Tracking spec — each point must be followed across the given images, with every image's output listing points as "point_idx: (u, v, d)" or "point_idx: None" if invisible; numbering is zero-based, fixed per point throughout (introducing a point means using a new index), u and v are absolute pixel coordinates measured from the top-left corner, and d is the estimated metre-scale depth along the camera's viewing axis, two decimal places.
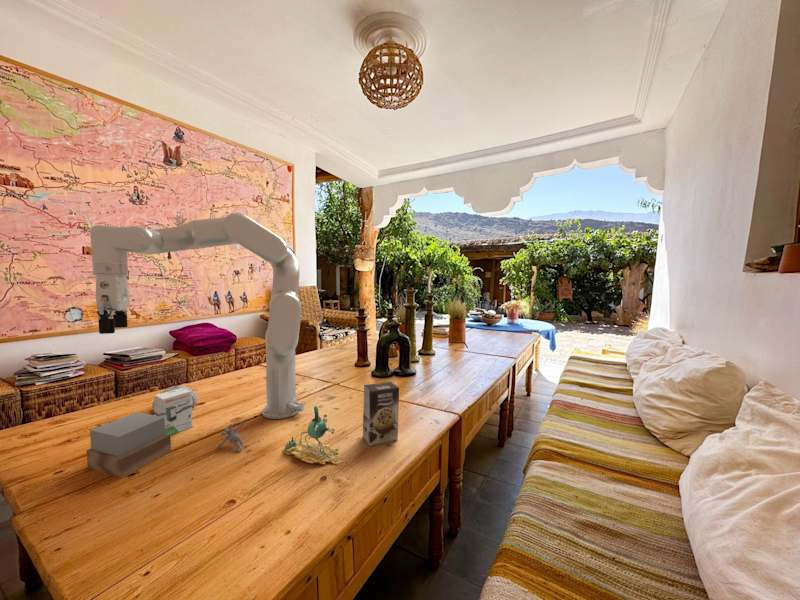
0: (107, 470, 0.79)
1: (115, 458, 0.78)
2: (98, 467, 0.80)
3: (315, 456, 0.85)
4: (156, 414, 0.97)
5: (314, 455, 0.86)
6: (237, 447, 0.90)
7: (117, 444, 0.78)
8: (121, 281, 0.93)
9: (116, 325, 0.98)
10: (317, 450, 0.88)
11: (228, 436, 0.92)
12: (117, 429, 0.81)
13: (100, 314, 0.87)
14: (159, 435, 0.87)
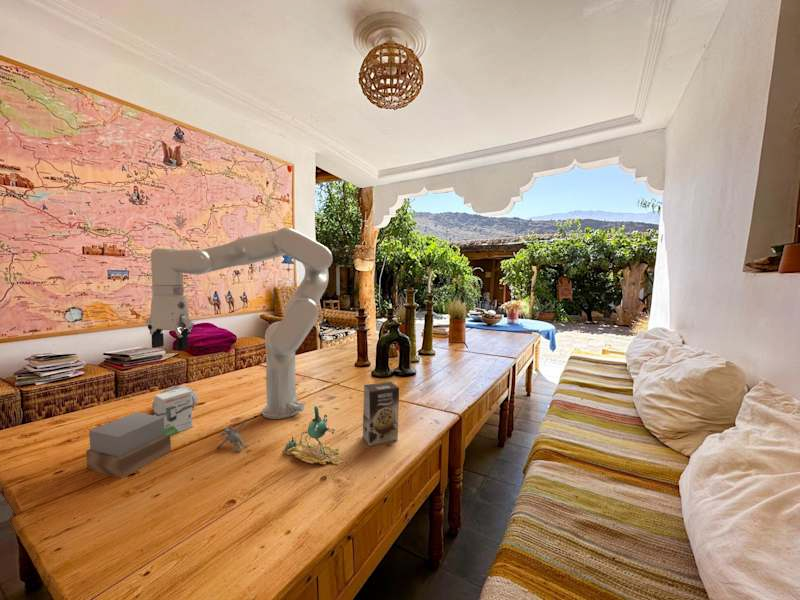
0: (107, 470, 0.79)
1: (115, 458, 0.78)
2: (98, 467, 0.80)
3: (315, 456, 0.85)
4: (156, 414, 0.97)
5: (314, 455, 0.86)
6: (237, 447, 0.90)
7: (117, 444, 0.78)
8: None
9: (156, 345, 0.98)
10: (317, 450, 0.88)
11: (228, 436, 0.92)
12: (116, 429, 0.81)
13: (187, 332, 0.95)
14: (158, 435, 0.87)
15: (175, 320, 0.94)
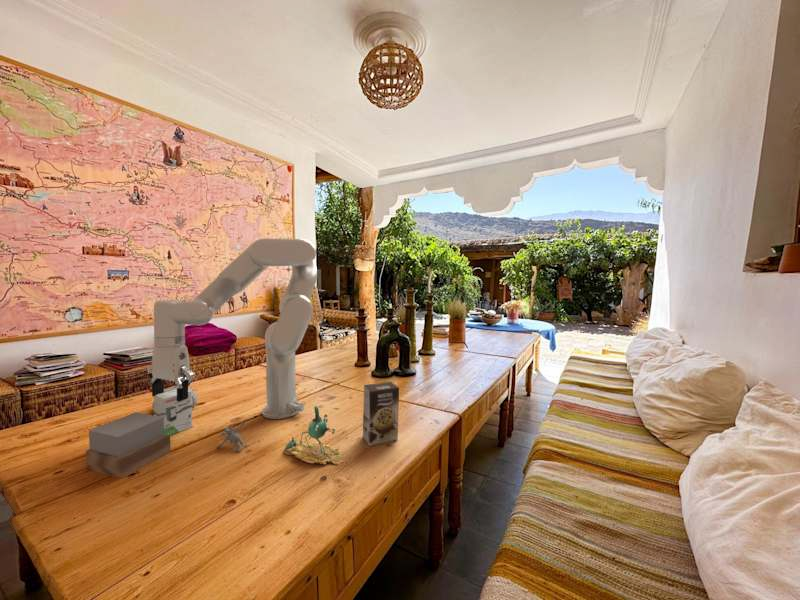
0: (107, 470, 0.79)
1: (115, 458, 0.78)
2: (97, 467, 0.80)
3: (316, 456, 0.85)
4: (156, 414, 0.97)
5: (315, 455, 0.86)
6: (237, 447, 0.90)
7: (117, 444, 0.78)
8: None
9: (156, 394, 1.00)
10: (318, 450, 0.88)
11: (228, 436, 0.92)
12: (116, 429, 0.81)
13: (187, 383, 0.96)
14: (158, 435, 0.87)
15: (176, 371, 0.95)
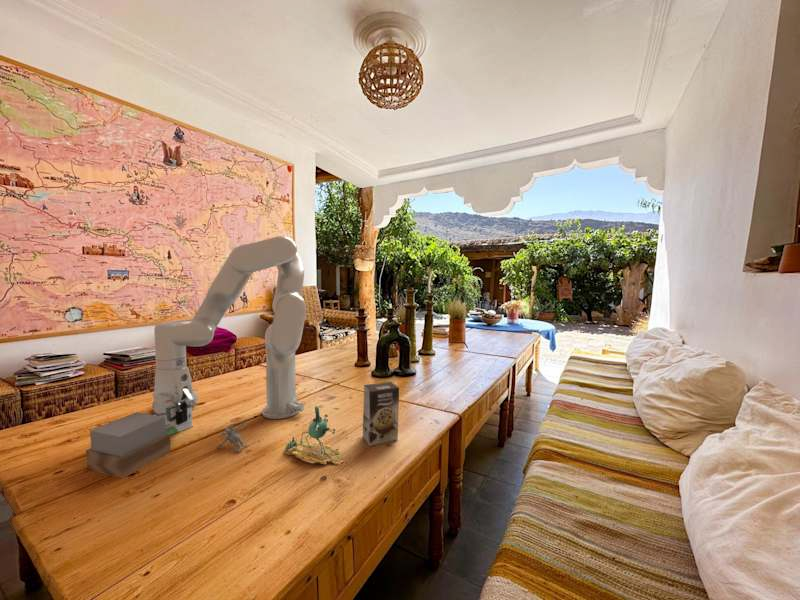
0: (107, 470, 0.79)
1: (115, 458, 0.78)
2: (97, 467, 0.80)
3: (316, 456, 0.85)
4: (156, 414, 0.97)
5: (315, 455, 0.86)
6: (237, 447, 0.90)
7: (118, 444, 0.78)
8: None
9: None
10: (318, 450, 0.88)
11: (228, 436, 0.92)
12: (117, 429, 0.81)
13: (186, 406, 0.98)
14: (160, 435, 0.87)
15: (178, 393, 0.96)
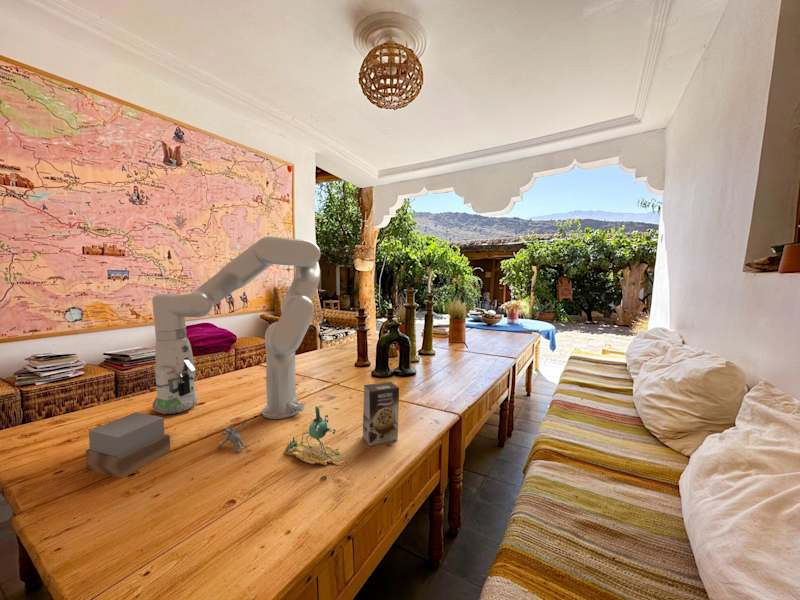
0: (106, 470, 0.79)
1: (114, 458, 0.78)
2: (97, 467, 0.80)
3: (316, 456, 0.85)
4: (158, 386, 0.96)
5: (315, 455, 0.86)
6: (237, 447, 0.89)
7: (116, 444, 0.78)
8: None
9: None
10: (318, 450, 0.88)
11: (229, 436, 0.92)
12: (116, 429, 0.81)
13: (188, 377, 0.97)
14: (158, 435, 0.87)
15: (180, 364, 0.96)
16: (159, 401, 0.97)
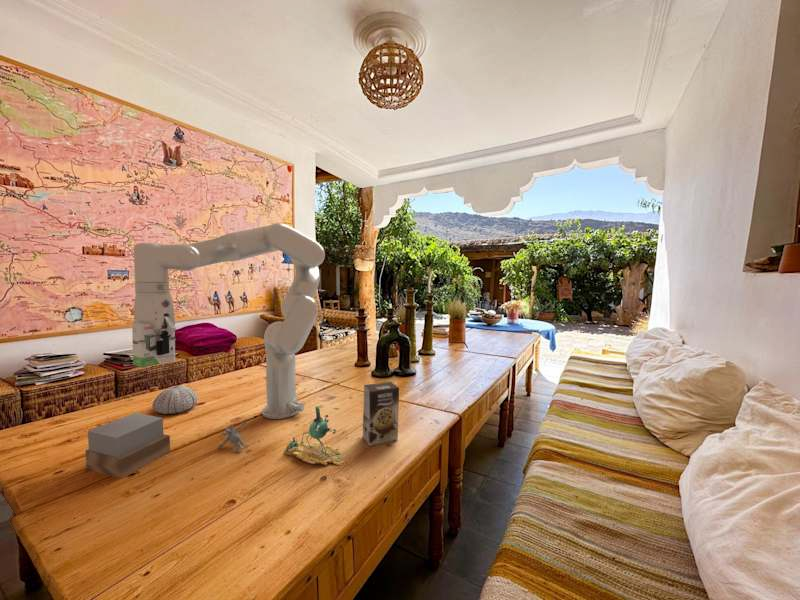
0: (106, 470, 0.79)
1: (114, 458, 0.78)
2: (97, 467, 0.80)
3: (317, 456, 0.85)
4: (134, 342, 0.89)
5: (316, 455, 0.86)
6: (238, 447, 0.89)
7: (115, 445, 0.77)
8: None
9: None
10: (319, 450, 0.88)
11: (229, 436, 0.92)
12: (115, 430, 0.81)
13: (167, 335, 0.90)
14: (157, 436, 0.87)
15: (159, 319, 0.88)
16: (134, 359, 0.89)
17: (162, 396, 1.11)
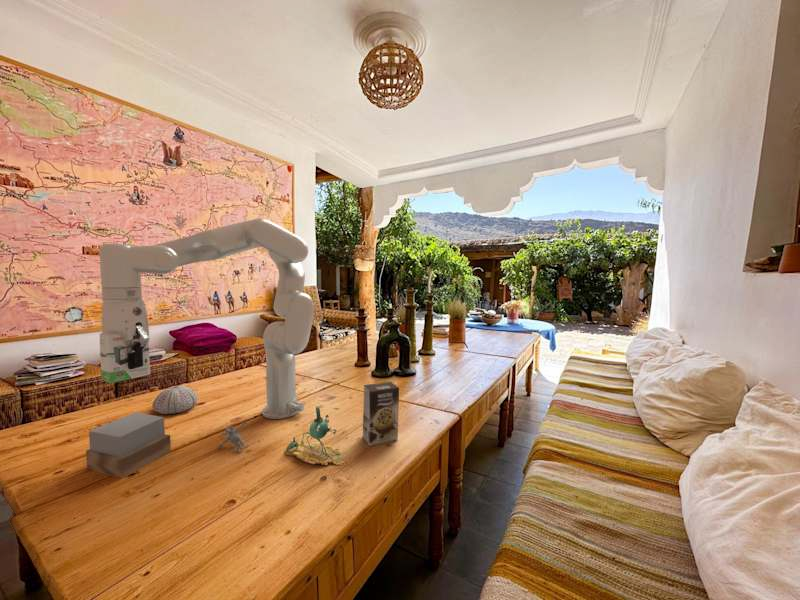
0: (107, 470, 0.79)
1: (115, 458, 0.78)
2: (97, 467, 0.80)
3: (317, 457, 0.85)
4: (102, 355, 0.79)
5: (316, 456, 0.86)
6: (238, 448, 0.89)
7: (118, 444, 0.78)
8: None
9: None
10: (319, 451, 0.88)
11: (229, 436, 0.92)
12: (117, 429, 0.81)
13: (140, 346, 0.80)
14: (159, 435, 0.87)
15: (130, 329, 0.79)
16: (103, 374, 0.80)
17: (162, 396, 1.11)
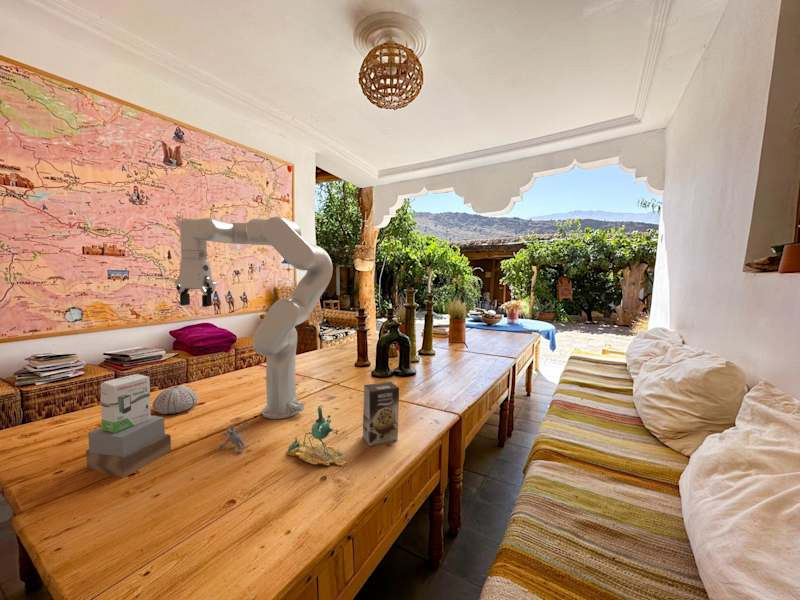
0: (107, 470, 0.79)
1: (116, 457, 0.78)
2: (98, 467, 0.80)
3: (319, 457, 0.85)
4: (104, 405, 0.79)
5: (318, 456, 0.85)
6: (238, 448, 0.89)
7: (120, 444, 0.78)
8: None
9: (183, 303, 1.15)
10: (321, 451, 0.88)
11: (230, 437, 0.91)
12: None
13: (211, 290, 1.12)
14: (159, 435, 0.87)
15: (201, 280, 1.11)
16: (104, 423, 0.80)
17: (162, 396, 1.11)
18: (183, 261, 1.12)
